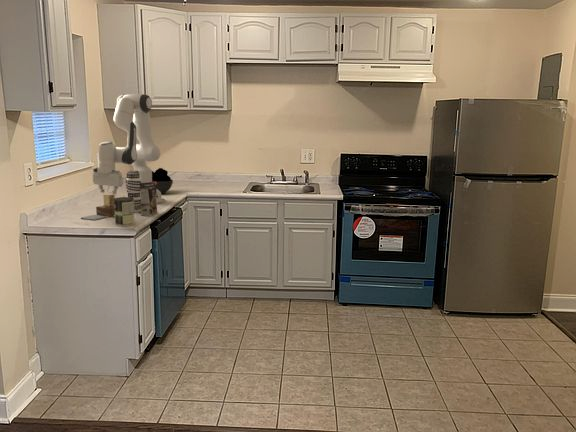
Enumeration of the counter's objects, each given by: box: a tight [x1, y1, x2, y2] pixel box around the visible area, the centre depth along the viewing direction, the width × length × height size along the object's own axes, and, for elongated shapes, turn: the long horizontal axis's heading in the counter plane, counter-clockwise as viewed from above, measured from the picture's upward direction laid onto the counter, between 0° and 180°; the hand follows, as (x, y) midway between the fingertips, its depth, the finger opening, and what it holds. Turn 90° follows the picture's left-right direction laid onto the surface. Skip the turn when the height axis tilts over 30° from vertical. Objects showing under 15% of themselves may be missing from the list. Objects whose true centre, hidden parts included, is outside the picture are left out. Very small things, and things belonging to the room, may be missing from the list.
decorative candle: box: [125, 169, 141, 213], centre depth 312 cm, size 9×9×25 cm
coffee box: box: [140, 187, 158, 217], centre depth 303 cm, size 9×6×16 cm
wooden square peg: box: [103, 193, 116, 207], centre depth 301 cm, size 4×4×12 cm
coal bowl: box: [151, 167, 174, 194], centre depth 377 cm, size 20×20×19 cm
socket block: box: [95, 204, 115, 218], centre depth 302 cm, size 11×11×5 cm
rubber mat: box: [80, 214, 108, 222], centre depth 292 cm, size 10×10×1 cm
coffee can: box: [114, 196, 136, 227], centre depth 277 cm, size 10×10×14 cm
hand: (108, 193), depth 300 cm, fingers open, 8 cm apart
